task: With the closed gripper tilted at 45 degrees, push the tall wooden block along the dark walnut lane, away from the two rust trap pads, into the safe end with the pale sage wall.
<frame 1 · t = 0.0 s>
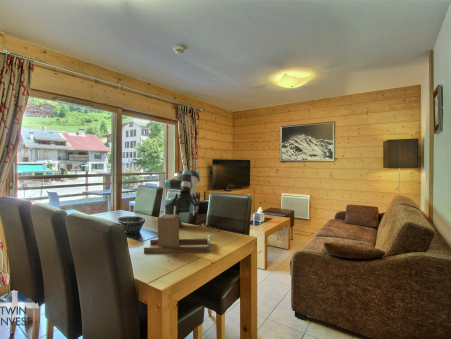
hand: (183, 214, 172), 15 cm above the table, tool tilted 35°, fingers open, 13 cm apart
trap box: (178, 247, 149), on the table
wooden block: (168, 248, 149), resting in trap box
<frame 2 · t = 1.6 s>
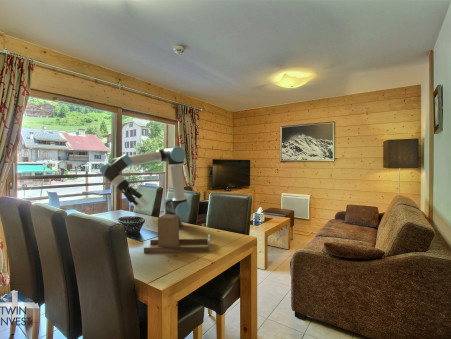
hand: (144, 206, 160), 24 cm above the table, tool tilted 45°, fingers open, 13 cm apart
nothing on the table moved.
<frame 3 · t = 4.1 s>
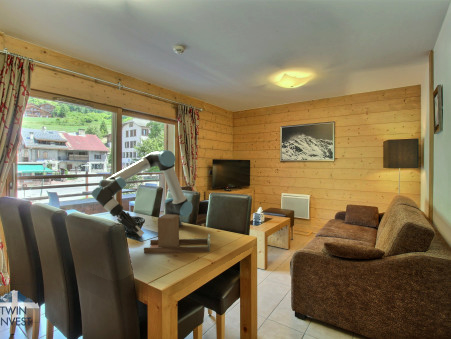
hand: (142, 234, 147), 9 cm above the table, tool tilted 45°, fingers closed
nothing on the table moved.
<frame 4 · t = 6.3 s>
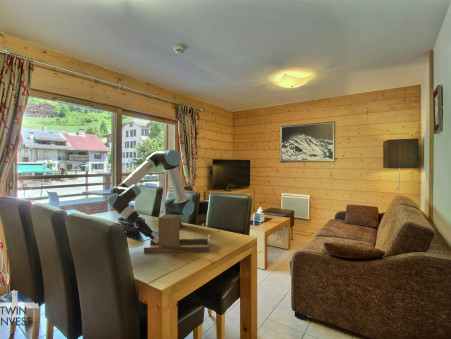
hand: (157, 241, 148), 4 cm above the table, tool tilted 45°, fingers closed
wooden block: (169, 248, 149), resting in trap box, touching gripper
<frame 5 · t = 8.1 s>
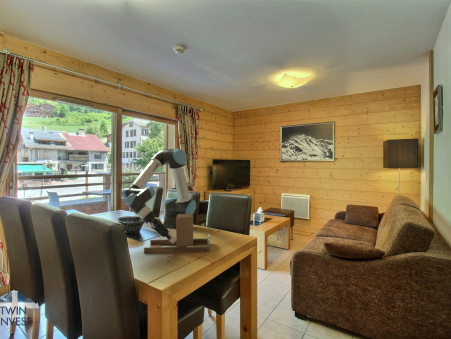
hand: (174, 242, 148), 4 cm above the table, tool tilted 45°, fingers closed
wooden block: (185, 247, 150), resting in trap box, touching gripper
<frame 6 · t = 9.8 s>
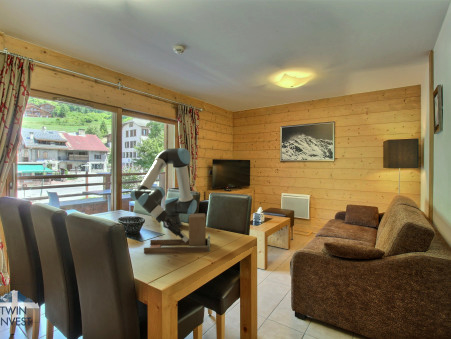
hand: (187, 240, 149), 5 cm above the table, tool tilted 45°, fingers closed
wooden block: (197, 247, 151), resting in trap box, touching gripper
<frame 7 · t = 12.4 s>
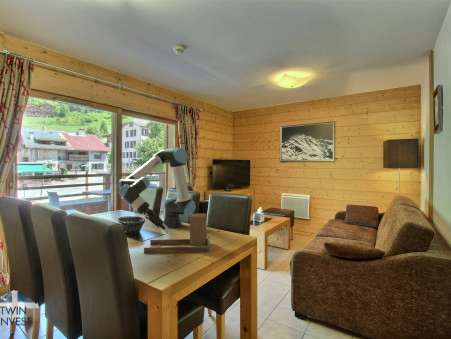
hand: (169, 232, 149), 10 cm above the table, tool tilted 45°, fingers closed
wooden block: (198, 247, 151), resting in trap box
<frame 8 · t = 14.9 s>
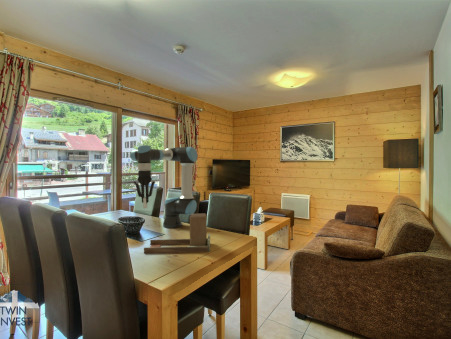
hand: (145, 207, 152), 24 cm above the table, tool pointing down, fingers closed
nothing on the table moved.
at the end: wooden block inside the target area (1.6 cm from its centre), resting in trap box; wooden block tilted 0°; the gripper is holding nothing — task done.
